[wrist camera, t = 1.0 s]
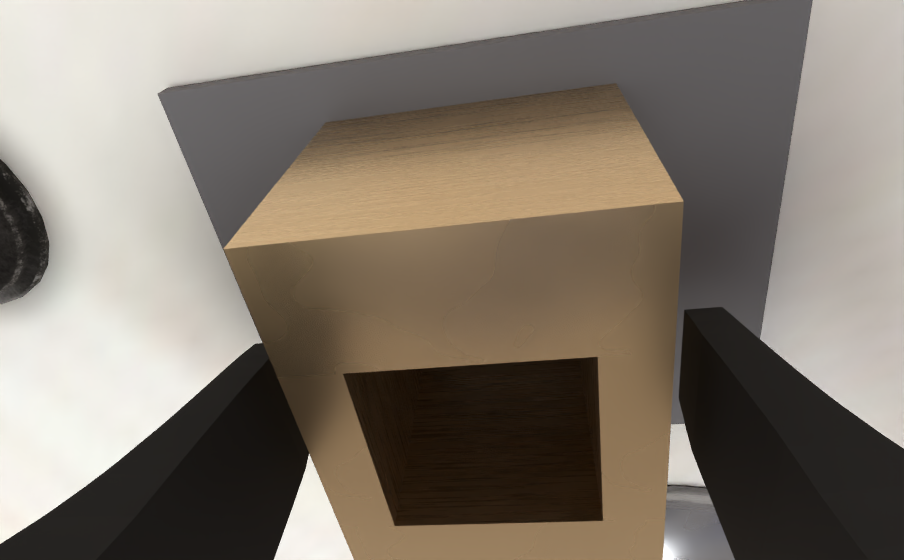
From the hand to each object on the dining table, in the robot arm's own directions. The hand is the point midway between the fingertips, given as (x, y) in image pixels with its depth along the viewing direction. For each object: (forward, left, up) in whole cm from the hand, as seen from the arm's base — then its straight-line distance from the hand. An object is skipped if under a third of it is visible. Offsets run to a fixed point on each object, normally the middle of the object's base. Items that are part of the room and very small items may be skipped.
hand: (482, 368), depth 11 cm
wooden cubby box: (0, 0, -3) cm, 3 cm away
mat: (0, 0, -4) cm, 4 cm away
